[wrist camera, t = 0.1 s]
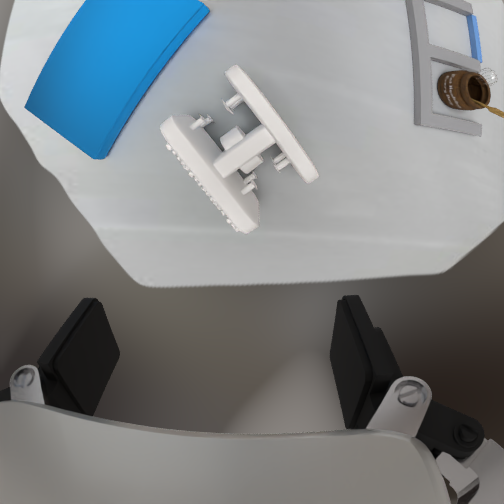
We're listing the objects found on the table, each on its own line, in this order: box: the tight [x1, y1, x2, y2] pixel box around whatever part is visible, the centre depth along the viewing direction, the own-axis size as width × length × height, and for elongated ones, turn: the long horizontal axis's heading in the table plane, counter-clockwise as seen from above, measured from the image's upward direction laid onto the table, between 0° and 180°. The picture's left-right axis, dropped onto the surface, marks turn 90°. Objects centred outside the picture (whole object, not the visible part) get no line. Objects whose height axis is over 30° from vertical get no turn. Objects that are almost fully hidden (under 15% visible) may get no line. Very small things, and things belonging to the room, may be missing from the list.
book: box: [24, 0, 210, 159], centre depth 30 cm, size 17×4×25 cm
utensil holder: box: [438, 68, 504, 118], centre depth 27 cm, size 6×6×12 cm
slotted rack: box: [406, 0, 482, 137], centre depth 29 cm, size 23×13×2 cm, turn 2°
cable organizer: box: [160, 64, 319, 234], centre depth 32 cm, size 15×11×12 cm
